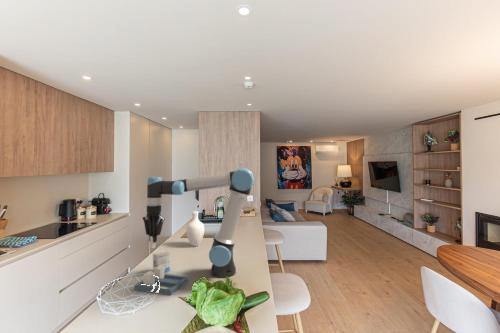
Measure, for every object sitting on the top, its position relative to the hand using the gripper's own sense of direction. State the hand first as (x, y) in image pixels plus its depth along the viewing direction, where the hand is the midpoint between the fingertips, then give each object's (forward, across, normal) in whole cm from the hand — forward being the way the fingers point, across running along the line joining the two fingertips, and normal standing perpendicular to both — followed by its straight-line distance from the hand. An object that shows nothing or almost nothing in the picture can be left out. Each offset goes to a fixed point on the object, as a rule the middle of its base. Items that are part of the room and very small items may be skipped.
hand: (152, 247), depth 135 cm
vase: (+19, +10, -66) cm, 70 cm away
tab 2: (+18, -2, -4) cm, 18 cm away
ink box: (+20, +4, -14) cm, 25 cm away
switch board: (+19, -7, 0) cm, 20 cm away
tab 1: (+18, -2, +4) cm, 19 cm away
